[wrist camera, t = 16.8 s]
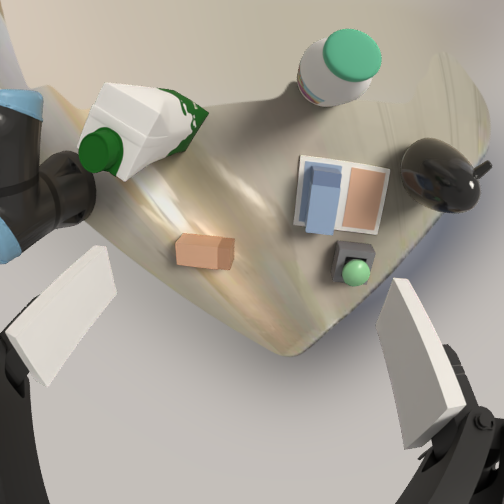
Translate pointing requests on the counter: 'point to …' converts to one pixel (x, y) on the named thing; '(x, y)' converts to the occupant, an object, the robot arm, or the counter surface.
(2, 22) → the counter surface
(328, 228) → the block
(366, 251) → the button housing
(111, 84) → the milk carton
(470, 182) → the pump dispenser
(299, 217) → the picture board
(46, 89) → the counter surface
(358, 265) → the button
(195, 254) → the block
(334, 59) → the milk bottle
